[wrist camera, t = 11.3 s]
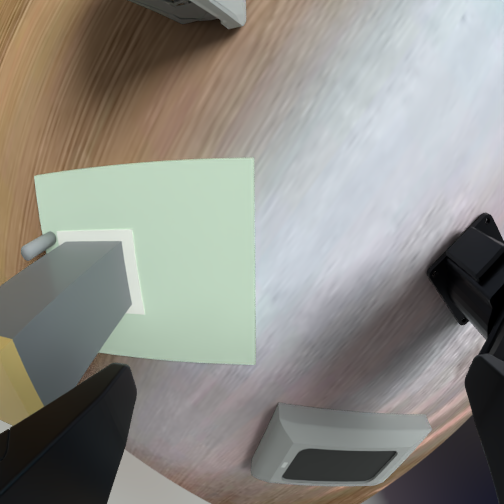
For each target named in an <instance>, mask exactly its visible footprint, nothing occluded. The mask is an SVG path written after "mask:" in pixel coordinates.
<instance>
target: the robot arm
mask: <svg viewBox="0 0 504 504" xmlns="http://www.w3.org/2000/svg"><path fill="white" fill-rule="evenodd" d="M486 218H487V221H486V223H485V220H486ZM435 271H436V273H435V275H433V276H432V274H433V272H435ZM427 276H428V278H429V279H430V281H431V282H432V284H433V285H434V287H435V288H436V290H437V291H438V292H439V294H440V295H441V297H442V298H443V300H444V301H445V303H446V304H447V306H448V307H449V309H450V311H451V312H452V314H453V315H454V317H455V318H456V320H457V321H458V323H459V324H460V325H465V324H466V323H467V322H468V321H470V322H471V323H472V324H473V326H474V327H475V328H476V329H477V330H478V331H479V332H480V334H481V335H482V336H483V337H484V338H485V339H486V342H485V343H484V345H483V347H482V349H481V351H480V352H479V354H478V355H477V356H476V357H475V358H474V359H473V361H472V364H471V365H470V367H469V371H468V373H467V375H466V378H465V388H466V392H467V395H468V399H469V402H470V406H471V409H472V413H473V417H474V421H475V425H476V428H477V432H478V435H479V438H480V440H481V443H482V446H483V449H484V452H485V456H486V458H487V462H488V465H489V468H490V472H491V475H492V479H493V482H494V485H495V489H496V493H497V497H498V501H499V504H504V241H503V239H502V236H501V234H500V232H499V230H498V228H497V226H496V224H495V222H494V220H493V218H492V216H491V215H490V214H488V213H483V214H482V215H481V216H480V217H479V218H478V219H477V220H476V221H475V222H474V223H473V225H472V226H471V227H469V228H468V229H467V230H466V231H465V232H464V233H463V234H462V236H461V237H460V238H459V239H458V240H457V241H456V242H455V243H454V244H453V245H452V246H451V247H450V248H449V249H448V250H447V251H446V252H445V253H444V254H443V255H442V256H441V257H440V258H439V259H438V260H437V261H436V262H435V263H434V264H433V265H432V266H431V267H430V268H429V269H428V271H427ZM463 318H464V319H463ZM462 319H463V320H462ZM136 396H137V389H136V385H135V382H134V379H133V376H132V372H131V369H130V367H129V366H128V365H127V364H121V363H112V364H110V365H109V366H107V367H105V368H104V369H102V370H101V371H99V372H98V373H96V374H95V375H93V376H91V377H90V378H88V379H87V380H85V381H84V382H82V383H80V384H79V385H77V386H76V387H74V388H73V389H71V390H70V391H68V392H66V393H65V394H63V395H62V396H60V397H58V398H57V399H55V400H54V401H52V402H51V403H49V404H47V405H46V406H44V407H43V408H41V409H39V410H38V411H36V412H35V413H33V414H31V415H30V416H28V417H27V418H25V419H23V420H22V421H20V422H19V423H17V424H15V425H14V426H12V427H11V428H10V430H9V429H7V430H6V431H4V432H2V433H1V434H0V504H107V502H108V498H109V495H110V492H111V489H112V486H113V482H114V479H115V476H116V473H117V470H118V467H119V464H120V461H121V458H122V455H123V452H124V449H125V446H126V442H127V437H128V433H129V428H130V423H131V419H132V414H133V410H134V405H135V401H136Z"/></svg>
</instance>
